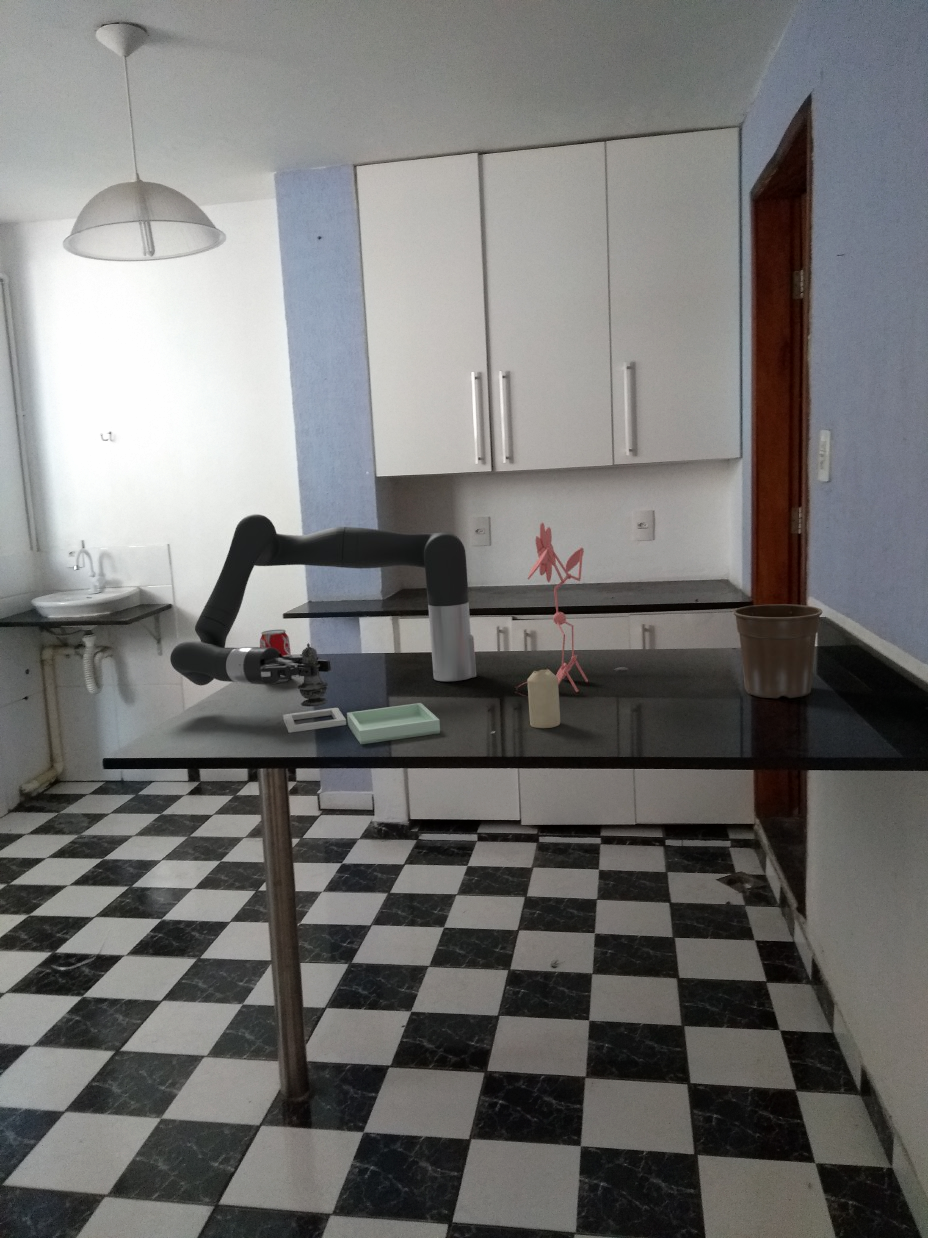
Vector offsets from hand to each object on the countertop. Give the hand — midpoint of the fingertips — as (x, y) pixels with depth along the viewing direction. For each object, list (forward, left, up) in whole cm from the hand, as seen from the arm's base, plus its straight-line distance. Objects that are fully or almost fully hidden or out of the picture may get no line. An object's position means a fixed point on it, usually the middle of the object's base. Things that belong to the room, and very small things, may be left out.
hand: (322, 668), depth 185 cm
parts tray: (-11, +11, -11) cm, 19 cm away
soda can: (+5, -48, -11) cm, 50 cm away
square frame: (+2, -2, -11) cm, 11 cm away
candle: (-37, +23, -11) cm, 45 cm away
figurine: (-49, -5, -11) cm, 50 cm away
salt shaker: (+2, -2, -7) cm, 8 cm away
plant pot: (-85, +24, -11) cm, 89 cm away
